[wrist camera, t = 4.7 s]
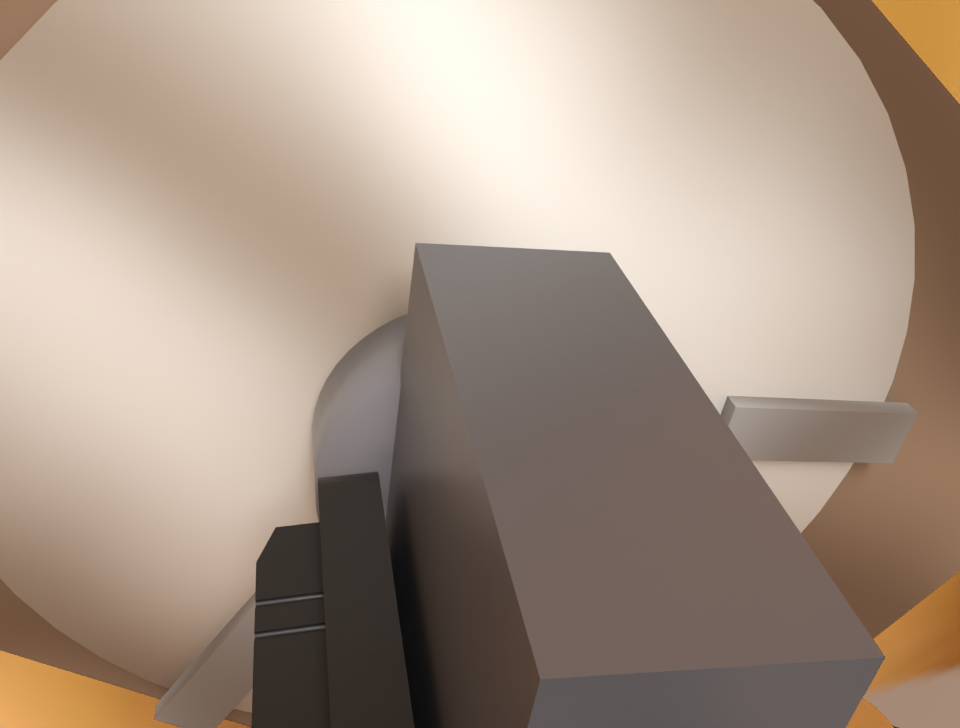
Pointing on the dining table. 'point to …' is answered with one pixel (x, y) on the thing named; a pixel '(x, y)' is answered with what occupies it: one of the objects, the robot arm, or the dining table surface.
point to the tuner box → (454, 221)
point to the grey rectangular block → (577, 513)
